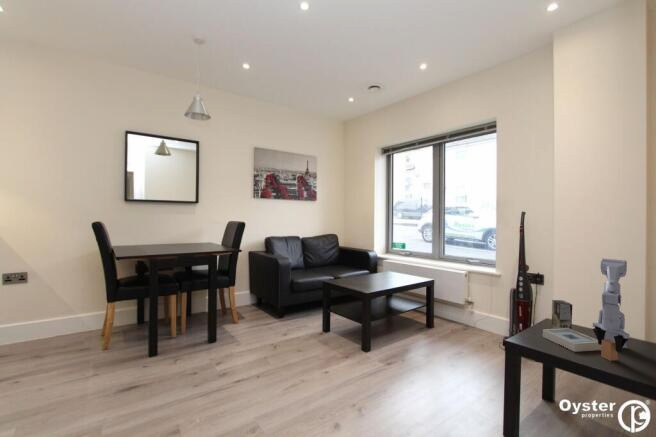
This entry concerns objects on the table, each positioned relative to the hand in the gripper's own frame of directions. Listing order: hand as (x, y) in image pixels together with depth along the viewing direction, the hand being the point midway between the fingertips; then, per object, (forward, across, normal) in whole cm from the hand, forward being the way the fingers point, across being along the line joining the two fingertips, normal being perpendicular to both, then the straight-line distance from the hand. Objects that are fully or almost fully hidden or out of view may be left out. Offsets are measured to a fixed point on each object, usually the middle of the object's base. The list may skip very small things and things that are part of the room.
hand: (609, 347), depth 143 cm
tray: (+5, -17, -2) cm, 18 cm away
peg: (+5, 0, 0) cm, 5 cm away
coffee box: (+5, -34, +10) cm, 36 cm away
